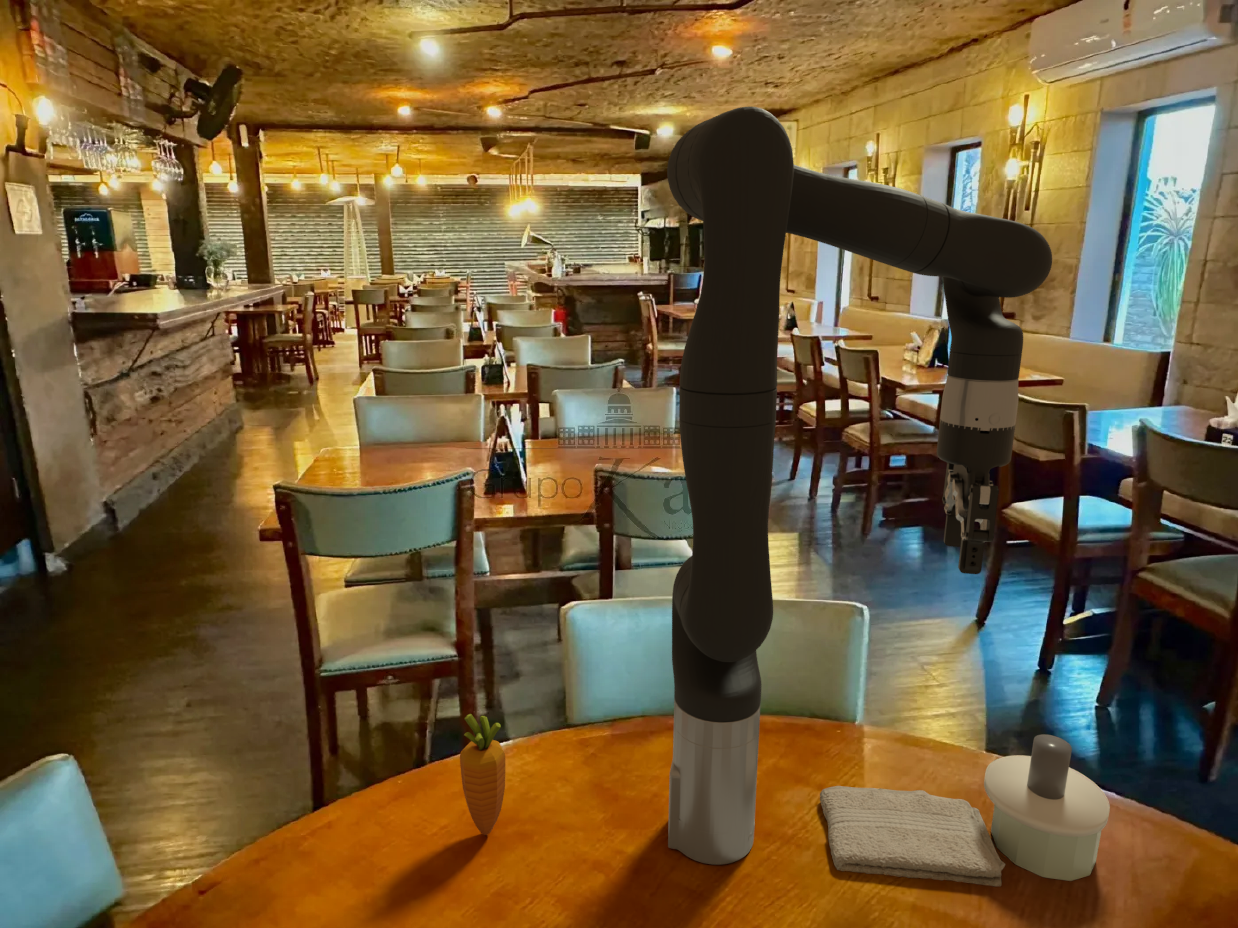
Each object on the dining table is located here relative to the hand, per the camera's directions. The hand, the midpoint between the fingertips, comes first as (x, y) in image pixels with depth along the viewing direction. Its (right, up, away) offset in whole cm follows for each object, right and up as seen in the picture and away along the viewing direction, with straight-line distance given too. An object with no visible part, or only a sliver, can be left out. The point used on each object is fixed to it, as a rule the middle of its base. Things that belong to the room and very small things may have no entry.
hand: (961, 558), depth 90 cm
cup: (+8, -32, -2) cm, 33 cm away
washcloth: (-7, -32, -1) cm, 33 cm away
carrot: (-54, -31, -1) cm, 62 cm away
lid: (+8, -26, -3) cm, 27 cm away
